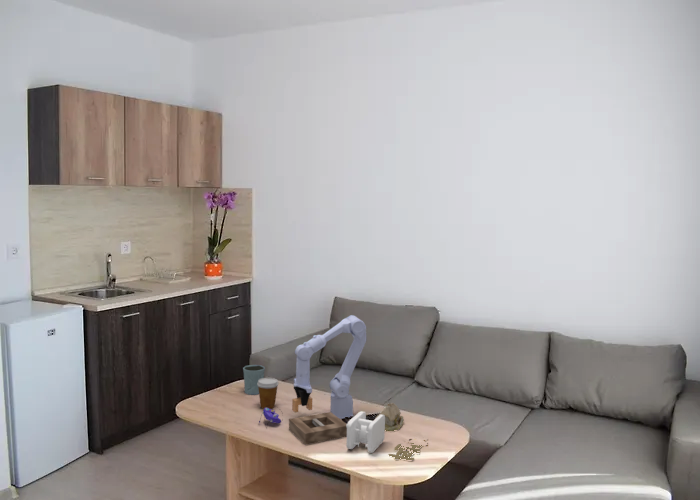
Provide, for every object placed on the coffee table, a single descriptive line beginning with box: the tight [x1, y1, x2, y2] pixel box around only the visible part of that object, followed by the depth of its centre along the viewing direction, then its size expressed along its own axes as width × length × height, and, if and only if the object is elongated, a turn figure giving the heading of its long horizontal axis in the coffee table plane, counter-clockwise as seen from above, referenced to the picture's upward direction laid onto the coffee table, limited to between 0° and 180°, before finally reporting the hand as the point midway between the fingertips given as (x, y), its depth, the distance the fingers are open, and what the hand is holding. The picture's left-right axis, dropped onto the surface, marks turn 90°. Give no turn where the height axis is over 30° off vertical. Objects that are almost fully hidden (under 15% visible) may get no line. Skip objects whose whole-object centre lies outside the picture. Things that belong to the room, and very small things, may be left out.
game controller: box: [258, 404, 284, 430], centre depth 257 cm, size 10×8×10 cm
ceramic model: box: [374, 402, 405, 432], centre depth 257 cm, size 14×11×10 cm
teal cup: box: [242, 364, 266, 396], centre depth 293 cm, size 10×10×12 cm
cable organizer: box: [345, 411, 386, 454], centre depth 236 cm, size 15×11×12 cm
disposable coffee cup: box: [257, 377, 279, 410], centre depth 275 cm, size 10×10×12 cm
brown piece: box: [288, 411, 347, 446], centre depth 248 cm, size 19×16×4 cm
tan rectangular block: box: [291, 395, 313, 413], centre depth 261 cm, size 8×3×5 cm, turn 119°
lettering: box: [387, 443, 423, 461], centre depth 236 cm, size 25×10×1 cm, turn 153°
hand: (302, 404), depth 261 cm, fingers closed on tan rectangular block, 3 cm apart
